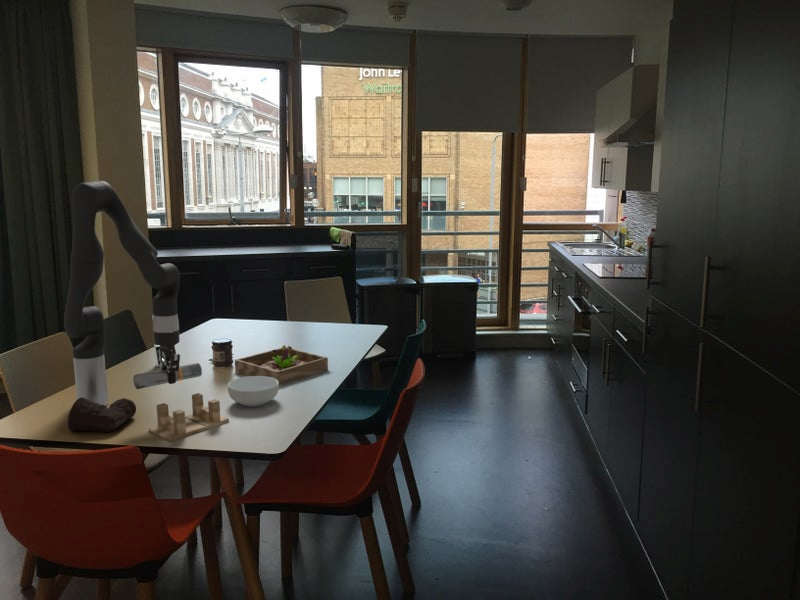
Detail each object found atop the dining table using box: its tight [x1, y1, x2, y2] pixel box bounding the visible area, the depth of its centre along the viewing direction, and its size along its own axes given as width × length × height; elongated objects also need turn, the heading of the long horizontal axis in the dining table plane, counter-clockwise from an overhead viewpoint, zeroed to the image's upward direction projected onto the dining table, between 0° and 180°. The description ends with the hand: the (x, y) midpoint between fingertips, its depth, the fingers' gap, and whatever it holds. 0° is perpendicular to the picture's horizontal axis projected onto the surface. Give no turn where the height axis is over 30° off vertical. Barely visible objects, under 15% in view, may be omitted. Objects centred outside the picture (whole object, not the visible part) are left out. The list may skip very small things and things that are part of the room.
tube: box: [132, 362, 203, 390], centre depth 201 cm, size 20×4×4 cm, turn 131°
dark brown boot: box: [67, 397, 137, 433], centre depth 196 cm, size 10×15×15 cm
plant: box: [261, 345, 308, 371], centre depth 252 cm, size 20×20×11 cm
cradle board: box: [148, 392, 230, 442], centre depth 195 cm, size 12×20×8 cm, turn 141°
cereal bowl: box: [227, 376, 280, 408], centre depth 217 cm, size 17×17×7 cm
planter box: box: [234, 346, 329, 386], centre depth 253 cm, size 26×26×5 cm
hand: (169, 381), depth 202 cm, fingers closed on tube, 4 cm apart
